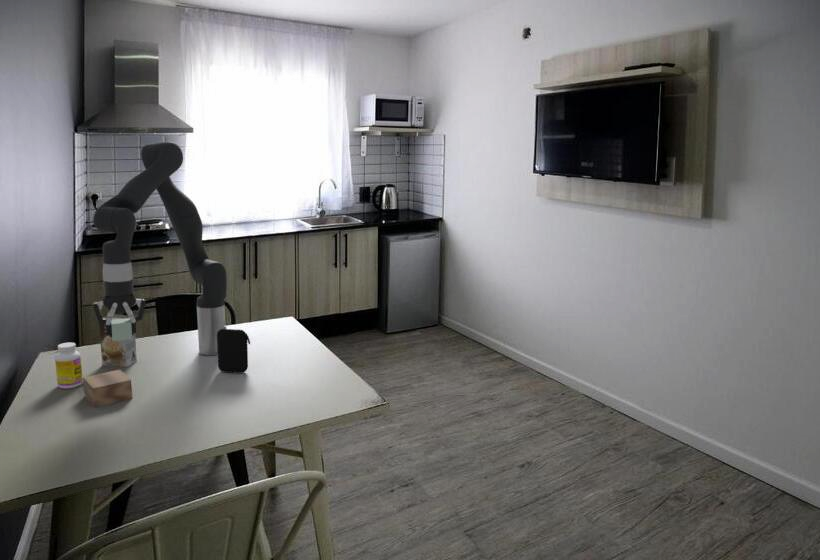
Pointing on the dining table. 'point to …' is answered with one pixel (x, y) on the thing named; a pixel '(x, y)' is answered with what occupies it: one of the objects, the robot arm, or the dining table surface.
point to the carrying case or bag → (232, 350)
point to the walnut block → (107, 388)
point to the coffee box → (117, 348)
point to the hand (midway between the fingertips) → (121, 335)
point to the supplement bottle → (68, 366)
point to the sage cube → (121, 329)
